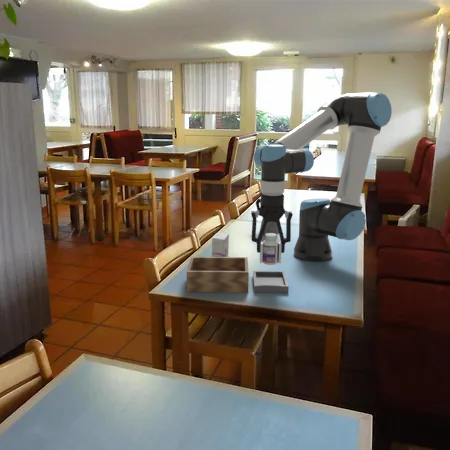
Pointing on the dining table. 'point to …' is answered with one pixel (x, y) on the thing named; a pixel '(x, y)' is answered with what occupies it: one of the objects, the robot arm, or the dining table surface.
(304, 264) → the dining table surface
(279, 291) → the tray
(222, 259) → the caddy
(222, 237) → the ink box
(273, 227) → the coffeepot
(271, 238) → the pill bottle
